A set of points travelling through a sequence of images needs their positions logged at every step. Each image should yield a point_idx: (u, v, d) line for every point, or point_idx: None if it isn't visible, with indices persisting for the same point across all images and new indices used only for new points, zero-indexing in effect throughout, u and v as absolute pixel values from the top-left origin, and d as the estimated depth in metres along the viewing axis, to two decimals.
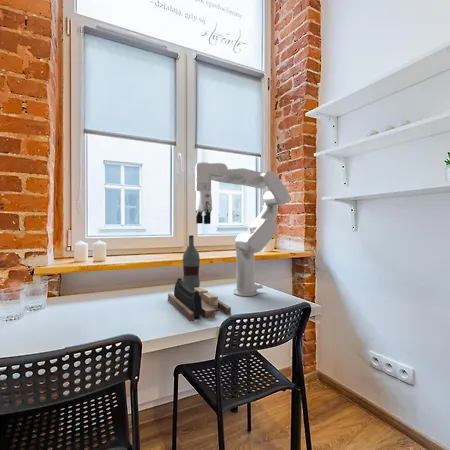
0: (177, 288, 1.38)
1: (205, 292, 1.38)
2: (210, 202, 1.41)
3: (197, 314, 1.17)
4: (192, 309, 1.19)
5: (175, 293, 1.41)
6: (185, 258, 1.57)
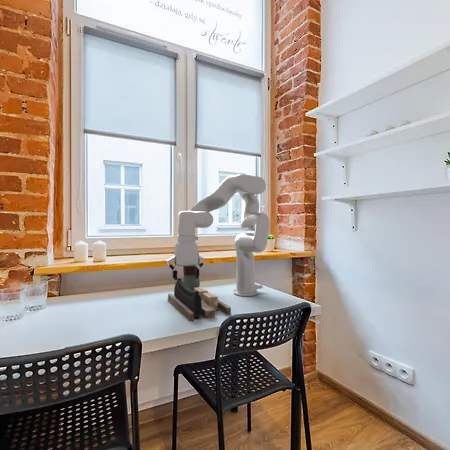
0: (177, 288, 1.38)
1: (205, 292, 1.38)
2: None
3: (197, 314, 1.17)
4: (192, 309, 1.19)
5: (175, 293, 1.41)
6: None
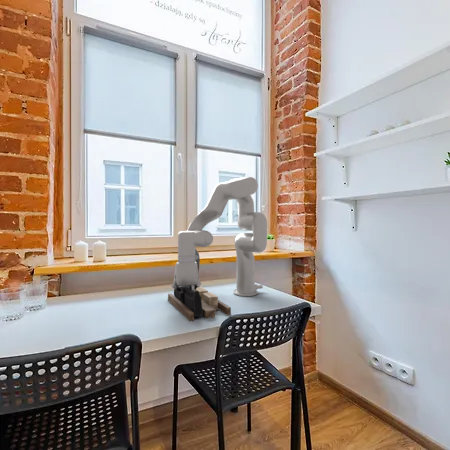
0: None
1: (205, 292, 1.38)
2: None
3: (197, 314, 1.17)
4: (192, 309, 1.19)
5: (175, 293, 1.41)
6: None
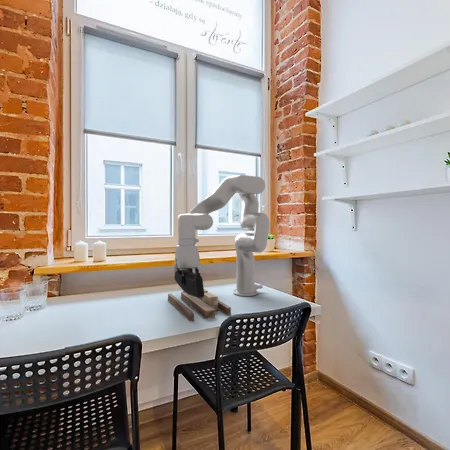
0: None
1: (205, 292, 1.38)
2: None
3: (199, 295, 1.17)
4: (194, 290, 1.19)
5: (176, 277, 1.41)
6: None
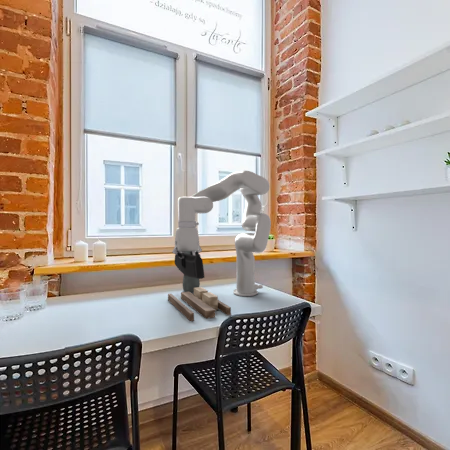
0: (178, 256, 1.38)
1: (205, 292, 1.38)
2: None
3: (199, 276, 1.17)
4: (194, 272, 1.19)
5: (176, 261, 1.41)
6: None
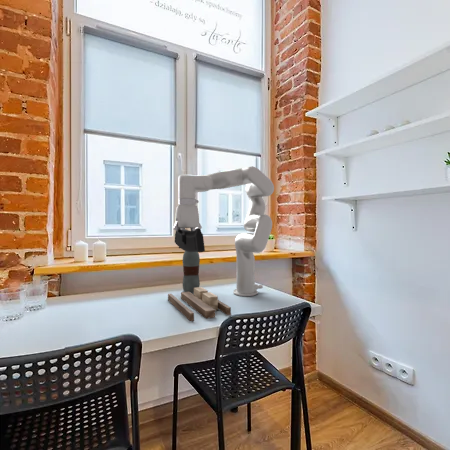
0: (178, 234, 1.41)
1: (205, 292, 1.38)
2: None
3: (200, 250, 1.20)
4: (194, 246, 1.22)
5: (176, 240, 1.44)
6: (185, 258, 1.57)
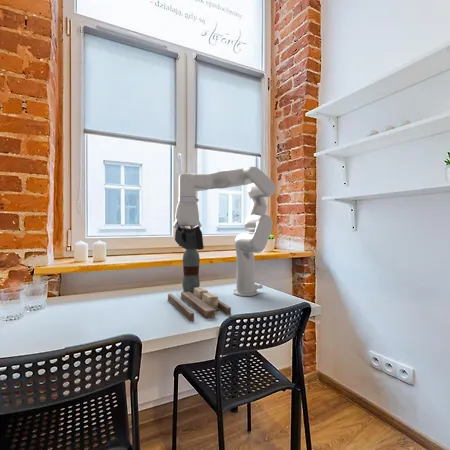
0: (178, 232, 1.43)
1: (205, 292, 1.38)
2: None
3: (198, 247, 1.21)
4: (193, 243, 1.24)
5: (176, 238, 1.46)
6: (185, 258, 1.57)
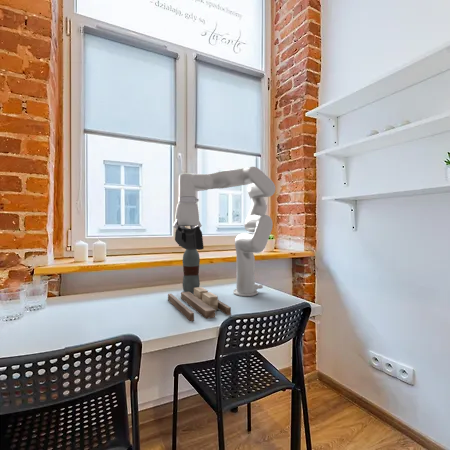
0: (178, 232, 1.43)
1: (205, 292, 1.38)
2: None
3: (198, 247, 1.21)
4: (193, 243, 1.24)
5: (176, 238, 1.46)
6: (185, 258, 1.57)
